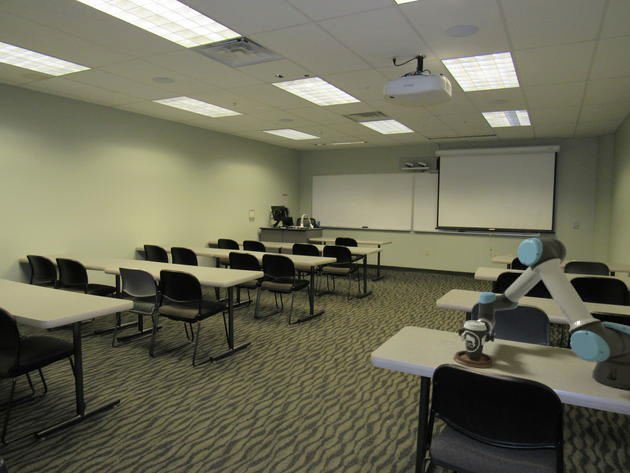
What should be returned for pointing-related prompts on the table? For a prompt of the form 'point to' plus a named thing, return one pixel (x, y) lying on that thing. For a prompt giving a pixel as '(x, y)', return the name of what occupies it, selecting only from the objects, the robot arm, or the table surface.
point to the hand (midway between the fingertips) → (472, 340)
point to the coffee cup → (474, 338)
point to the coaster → (474, 360)
